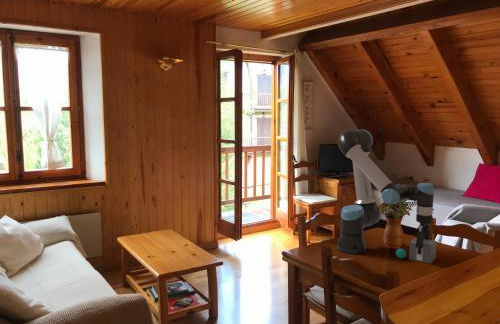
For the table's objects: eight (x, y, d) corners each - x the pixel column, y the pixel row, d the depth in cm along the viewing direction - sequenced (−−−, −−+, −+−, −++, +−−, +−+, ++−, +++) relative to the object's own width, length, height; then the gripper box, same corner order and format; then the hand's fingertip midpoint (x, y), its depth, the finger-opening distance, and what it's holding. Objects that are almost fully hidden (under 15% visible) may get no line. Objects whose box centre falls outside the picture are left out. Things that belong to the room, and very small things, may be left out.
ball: (394, 258, 212) (394, 249, 212) (397, 255, 216) (397, 246, 216) (404, 260, 209) (404, 251, 209) (407, 257, 213) (407, 248, 213)
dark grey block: (409, 259, 211) (409, 242, 210) (414, 253, 219) (415, 237, 218) (430, 263, 205) (431, 246, 204) (435, 257, 213) (436, 241, 212)
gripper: (426, 220, 198) (424, 265, 201) (438, 210, 216) (436, 252, 219) (409, 217, 203) (408, 262, 205) (422, 208, 221) (421, 249, 223)
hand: (422, 257), depth 212 cm, fingers closed on dark grey block, 10 cm apart
